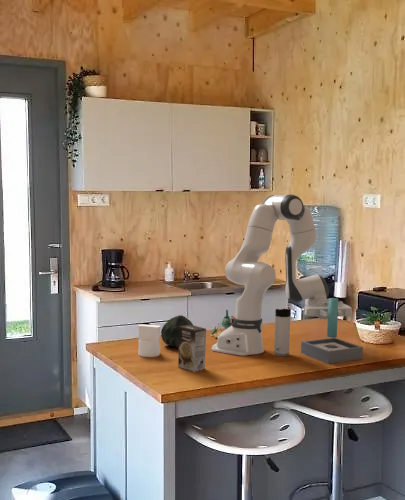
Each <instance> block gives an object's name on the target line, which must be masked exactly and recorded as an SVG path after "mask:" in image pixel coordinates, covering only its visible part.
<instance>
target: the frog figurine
mask: <svg viewBox="0 0 405 500" xmlns="http://www.w3.org/2000/svg"><path fill="white" fill-rule="evenodd" d="M230 317H231V318H230ZM233 317H234V316H233V315H231V316H229V310H228V309H226V310H225V316H224V317H223V319H222V320H221V322H218V324H217V325H218V326H219V327H217V328H216V326H215V327H214V328H213V329H212V331H211V332H210V337H214V338H217V339H218V337H219V335H220V334H221V333H222V332H223V331H222V329H221V328H224V330H226V329H227V328H229V327H230V326H231V323H230V322H231V319H232V318H233ZM219 324H220V325H219ZM219 328H220V329H219ZM218 329H219V330H220V331H218Z"/></svg>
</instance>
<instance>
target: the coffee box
mask: <svg viewBox="0 0 405 500" xmlns="http://www.w3.org/2000/svg"><path fill="white" fill-rule="evenodd" d="M206 341H207V328H205V327H201V326H198V325H195V324H193V325H184V326H179V348H178V358H177V359H178V361H177V362H178V363H177V366H178V367H177V368H181V369H183V370H186V371H190V372H193V373H196V372H199V370H200V371H203V369H204V370H205V369H206V367H205V366H206V350H207V349H206V347H207V346H206Z"/></svg>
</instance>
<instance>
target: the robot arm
mask: <svg viewBox="0 0 405 500" xmlns="http://www.w3.org/2000/svg"><path fill="white" fill-rule="evenodd" d="M278 220H279V221H286V222H287V223H288V226H289V227H288V229H289V233H290V239H289V240H290V241H289V243H288V245H287V246H286V247H285V255H284V257H285V263H284V264H285V290H284V291H285V292H284V293H285V295H286V298H287V300H289V301H290V302H292V303H295V304H298V303H300V302H303V301H304V307H301V311H302V312H303V313H304V315H305V316H306V317H318V318H319V319H322V320H325V319H327V320H328V316H329V312H328V304H329V298H328V296H329V286H328V283H327V281H326V279H325V278H324V277H323V276H322V275H320V274H318V273H317V274H313V275H308V276H306V277H302V278H298V279H297V270H296V269H297V265H296V263H297V261H298V259H299V258H300V256H302V255H303V254H304V253H306V252H308V251H309V250H310V249H312V247H313V246H314V245H315V243H316V240H317V232H316V227H315V221H314V219H313V216H312V213H311V210H310V209H309V207H308V206H305V205H304V202H303V200H302V199H301V198H300V197H299V196H297V195H295V194H284V193H282V194H281V193H280V194H275V195H274V194H273V195H272V194H271V195H269V196H267V197H266V198H264V199H263V201H262V203H260V204H257V205H256V206H254V208H253V210H252V213H251V214H250V217H249V220H248V223H247V227H246V232H245V235H244V239H243V242H242V245H241V247H240V249H239V251H238V252H237V254H236V255H235V256H234V257H233V259H231V260H229V261H228V263H226V265H225V268H224V274H225V278H226V279H227V280H228V281H230V282H232V283H234V284H235V285H240V286H244V289H243V292H242V294H241V295H240V296H238V297H237V298H236V300H235V315H234V316H233V317H231V318H232V319H231V318H230V319H231V322H230V323H231V326H230V327H229V328H227V329H226V330H225V329H224V330H223V331H222V333H221V334H220V335H219V337H218V338H217V342H216V343H214V344H213V345H211V351H212V352H216V353H224V354H228V355H229V354H231V355H235V356H244V357H245V356H249V355H251V356H252V355H260V354H262V353H264V352H265V348H264V344H263V336H262V335H263V334H262V332H263V318H262V314H263V313H262V311H263V301H264V296H265V294H266V293H267V291H268V289H269V288H271V287H272V286H273V285H274V283H275V281H276V277H277V275H276V271H275V270H276V269H275V268H274V267H273V266H272V265H270V264H268V263H265V262H263V261H259V259H260V257H261V256H262V255H263V254H265V253H266V252H268V251H269V249H270V245H271V241H272V238H273V233H274V229H275V228H274V227H275V224H276V222H277V221H278ZM352 315H353V309H352V307H351V306H350V305H348V304H345V303H344V302H343V301H341V300H338V317H351V316H352Z"/></svg>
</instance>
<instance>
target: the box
mask: <svg viewBox="0 0 405 500" xmlns="http://www.w3.org/2000/svg"><path fill="white" fill-rule="evenodd" d="M330 342H335V343H338V344H341V345H343V346H346V347H349V348H346V349H338V350H330V351H328V350H325V349H323V348H320V347H317V346H315V345H313V344H321V343H330ZM300 343H301V344H300V353H301V354H303V355H305V356H307V357H310V358H312V359H315V360H318V361H320V362H323V363H325V364H327V365H328V364H335V363H336V364H337V363H342V362H350V361H357V360H363V348H364V347H363V346H360V345H357V344H355V343H351V342H348V341H347V340H346V341H345V340H343V339H340V338H337V337H335V338H331V337H328V338H320V339H312V340H303V341H301V342H300Z"/></svg>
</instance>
